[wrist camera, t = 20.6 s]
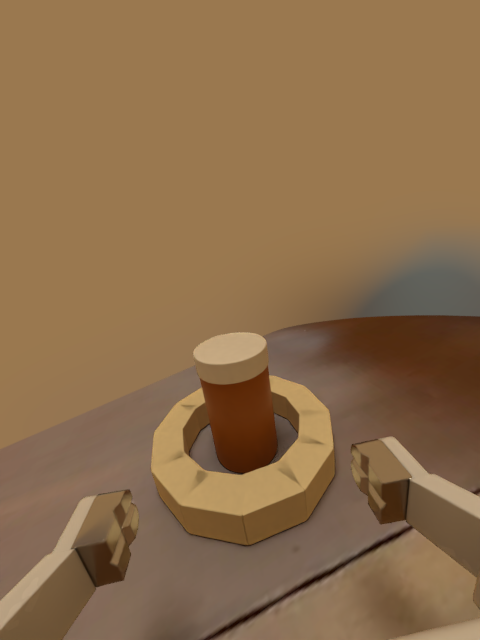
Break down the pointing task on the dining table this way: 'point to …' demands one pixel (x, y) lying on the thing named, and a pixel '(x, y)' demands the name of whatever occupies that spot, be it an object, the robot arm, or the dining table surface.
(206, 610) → the dining table surface
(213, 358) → the amber bottle
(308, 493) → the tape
